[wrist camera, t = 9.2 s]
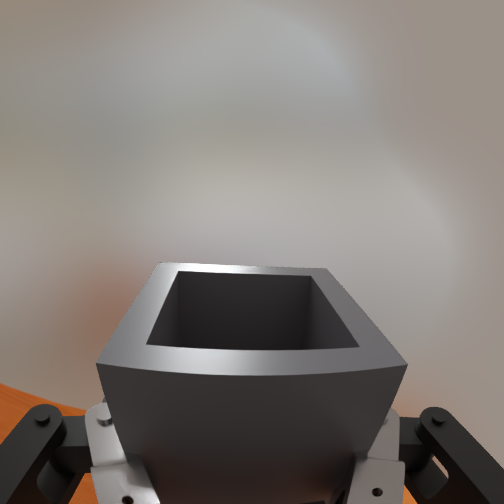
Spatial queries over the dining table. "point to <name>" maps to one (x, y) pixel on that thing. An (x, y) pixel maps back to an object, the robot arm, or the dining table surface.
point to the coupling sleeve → (247, 383)
